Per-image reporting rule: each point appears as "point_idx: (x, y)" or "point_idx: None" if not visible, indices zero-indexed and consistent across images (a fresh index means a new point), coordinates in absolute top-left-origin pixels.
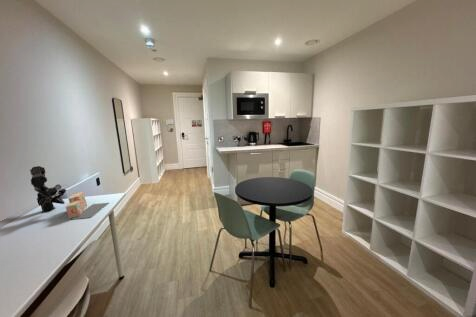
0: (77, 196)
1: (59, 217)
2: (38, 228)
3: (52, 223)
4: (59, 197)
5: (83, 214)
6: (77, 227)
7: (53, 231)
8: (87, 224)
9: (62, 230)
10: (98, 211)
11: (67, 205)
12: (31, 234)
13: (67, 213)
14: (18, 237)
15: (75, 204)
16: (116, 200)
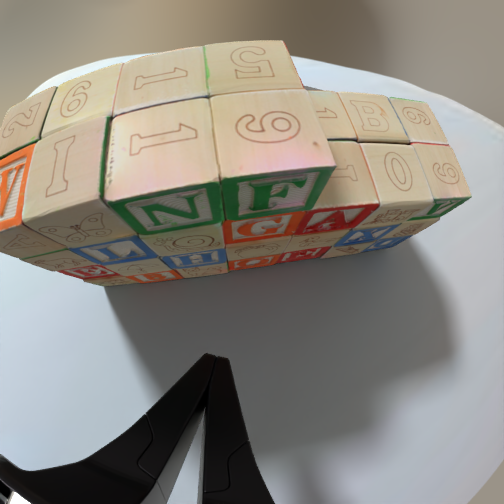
0: (282, 47)
1: (310, 380)
2: (451, 414)
3: (417, 362)
4: (149, 482)
5: None
6: (472, 160)
7: (500, 269)
8: (448, 125)
9: (494, 222)
10: (308, 88)
11: (443, 185)
12: (497, 389)
13: (423, 228)
14: (495, 438)
15: (428, 105)
16: (142, 56)
